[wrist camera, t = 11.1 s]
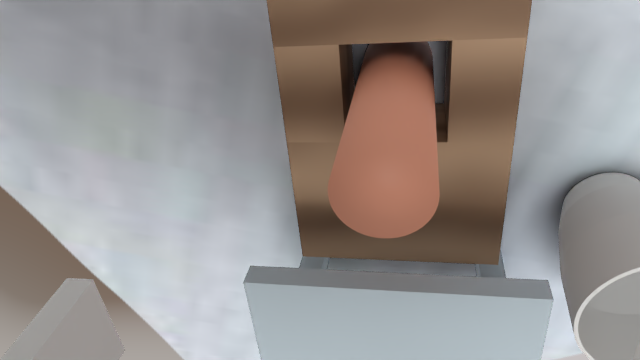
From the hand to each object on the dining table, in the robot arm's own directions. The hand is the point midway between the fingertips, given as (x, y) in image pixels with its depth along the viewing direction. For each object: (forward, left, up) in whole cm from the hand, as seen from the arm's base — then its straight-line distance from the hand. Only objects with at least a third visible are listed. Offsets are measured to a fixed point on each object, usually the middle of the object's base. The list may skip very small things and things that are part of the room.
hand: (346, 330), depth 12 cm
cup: (+10, +14, -21) cm, 27 cm away
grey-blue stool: (+11, +1, -21) cm, 24 cm away
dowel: (+1, 0, -21) cm, 21 cm away
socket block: (+2, +1, -21) cm, 21 cm away
